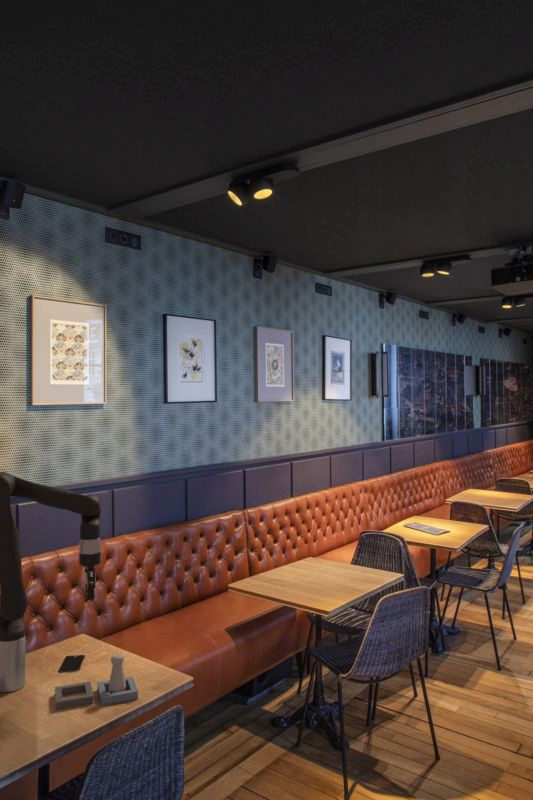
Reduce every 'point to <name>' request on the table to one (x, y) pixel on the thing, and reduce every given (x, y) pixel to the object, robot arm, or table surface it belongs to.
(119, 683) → the salt shaker
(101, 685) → the collar
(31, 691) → the table surface
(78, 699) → the collar
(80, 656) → the smartphone
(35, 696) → the table surface
